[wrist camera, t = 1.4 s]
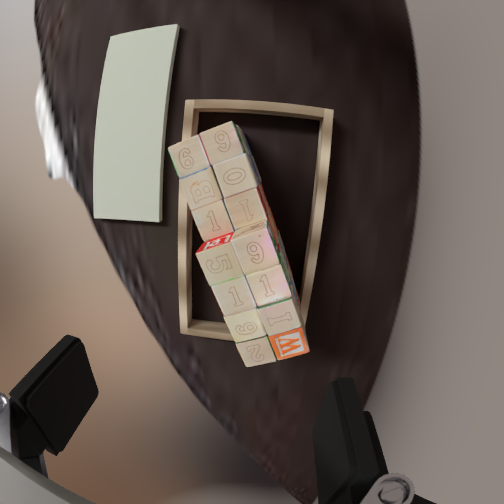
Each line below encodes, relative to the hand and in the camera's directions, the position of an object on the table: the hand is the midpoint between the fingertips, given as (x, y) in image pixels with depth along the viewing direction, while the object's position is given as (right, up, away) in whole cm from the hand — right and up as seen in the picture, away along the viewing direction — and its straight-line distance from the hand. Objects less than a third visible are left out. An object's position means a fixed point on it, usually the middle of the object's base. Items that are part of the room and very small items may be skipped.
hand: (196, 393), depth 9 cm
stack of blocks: (+2, +8, +25) cm, 26 cm away
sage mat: (-13, +22, +21) cm, 33 cm away
